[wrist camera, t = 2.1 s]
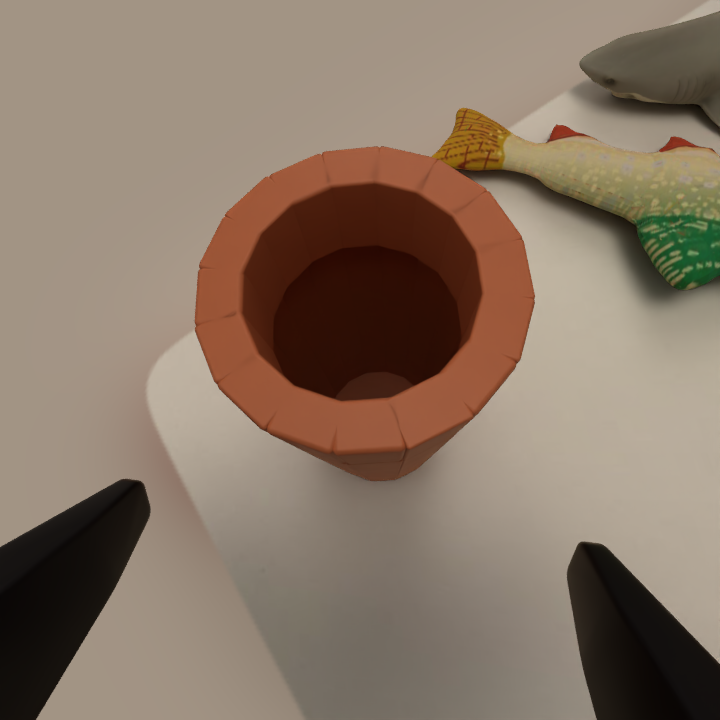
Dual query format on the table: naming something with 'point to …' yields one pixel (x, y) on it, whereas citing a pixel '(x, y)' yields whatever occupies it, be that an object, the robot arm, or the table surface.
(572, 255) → the table surface
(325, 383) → the pipe
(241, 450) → the table surface
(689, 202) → the decorative fish
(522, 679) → the table surface
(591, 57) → the shark figurine
